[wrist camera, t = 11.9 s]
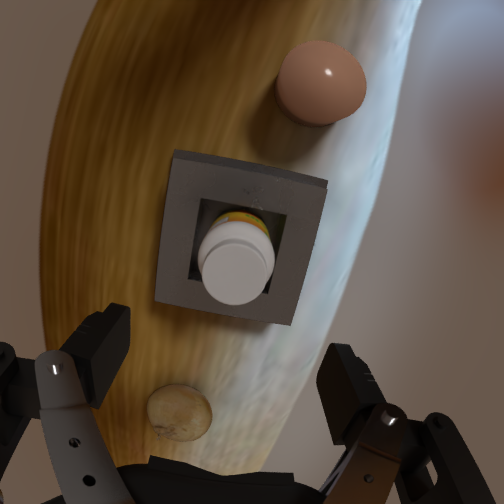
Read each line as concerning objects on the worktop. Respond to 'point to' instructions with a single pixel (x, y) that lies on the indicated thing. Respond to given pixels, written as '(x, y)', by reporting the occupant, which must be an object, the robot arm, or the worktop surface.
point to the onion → (179, 413)
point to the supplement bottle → (236, 257)
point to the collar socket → (228, 198)
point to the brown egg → (319, 84)
